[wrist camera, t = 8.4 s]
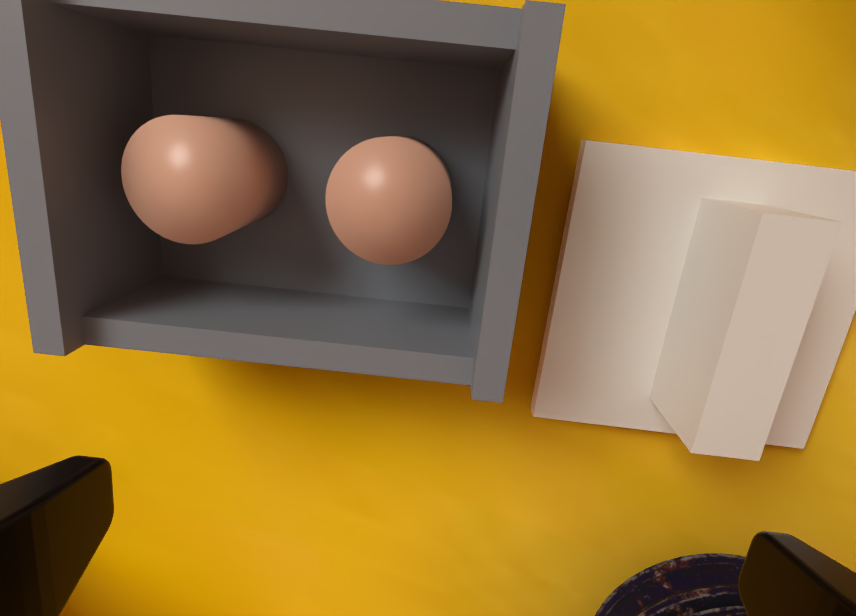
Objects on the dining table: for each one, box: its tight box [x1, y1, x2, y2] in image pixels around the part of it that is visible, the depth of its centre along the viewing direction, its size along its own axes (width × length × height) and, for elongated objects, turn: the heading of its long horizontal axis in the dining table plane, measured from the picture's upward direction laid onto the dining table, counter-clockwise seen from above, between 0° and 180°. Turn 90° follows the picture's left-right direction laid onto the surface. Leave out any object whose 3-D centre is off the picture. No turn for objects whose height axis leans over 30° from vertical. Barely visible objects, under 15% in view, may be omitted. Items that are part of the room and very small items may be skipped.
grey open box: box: [0, 0, 566, 403], centre depth 15 cm, size 9×12×6 cm
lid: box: [530, 140, 856, 461], centre depth 17 cm, size 10×10×5 cm
